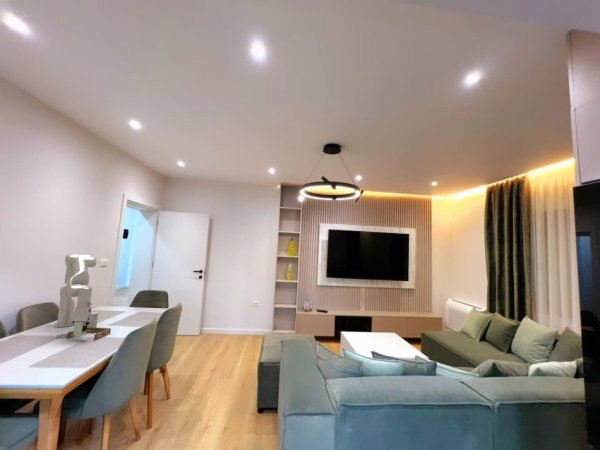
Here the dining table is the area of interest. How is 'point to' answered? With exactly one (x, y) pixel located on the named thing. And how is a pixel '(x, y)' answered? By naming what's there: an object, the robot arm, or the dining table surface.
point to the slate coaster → (61, 336)
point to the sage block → (79, 328)
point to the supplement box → (94, 318)
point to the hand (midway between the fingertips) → (80, 330)
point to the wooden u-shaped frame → (99, 332)
